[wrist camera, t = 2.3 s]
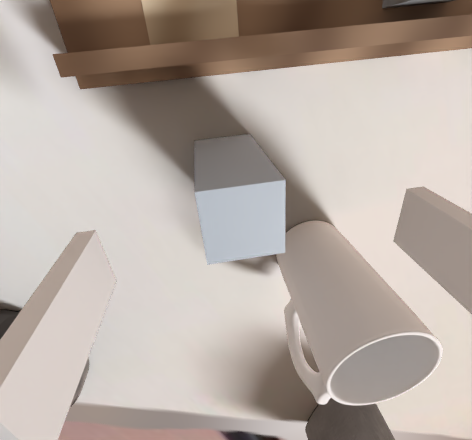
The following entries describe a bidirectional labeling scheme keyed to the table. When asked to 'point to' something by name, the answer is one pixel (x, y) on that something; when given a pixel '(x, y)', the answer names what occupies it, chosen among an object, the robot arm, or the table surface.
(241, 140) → the block
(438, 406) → the table surface
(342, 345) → the mug
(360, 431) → the flask
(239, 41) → the rail
